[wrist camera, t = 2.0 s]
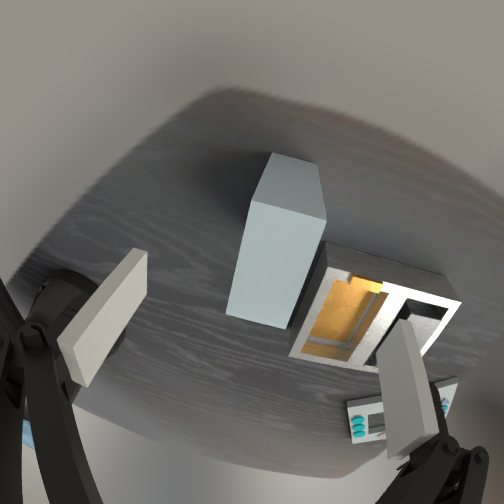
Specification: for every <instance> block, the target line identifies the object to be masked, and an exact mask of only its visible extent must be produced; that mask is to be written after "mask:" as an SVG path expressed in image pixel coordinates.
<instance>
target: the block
mask: <svg viewBox="0 0 504 504" xmlns="http://www.w3.org/2000/svg"><path fill="white" fill-rule="evenodd" d="M326 222H327V218H326V212H325V206H324V201H323V195H322V190H321V184H320V179H319V174H318V169H317V164H314V163H310V162H307V161H303V160H299V159H296V158H292V157H288V156H285V155H281V154H277V153H273V152H272V154H271V156H270V158H269V161H268V163H267V165H266V167H265V170H264V172H263V174H262V177H261V179H260V181H259V184H258V186H257V188H256V191H255V193H254V195H253V198H252V200H251V204H250V208H249V212H248V217H247V221H246V226H245V230H244V234H243V239H242V243H241V247H240V252H239V256H238V261H237V265H236V270H235V274H234V279H233V283H232V288H231V292H230V297H229V301H228V306H227V310H226V314H228V315H231V316H235V317H239V318H242V319H246V320H250V321H254V322H258V323H262V324H266V325H270V326H274V327H278V328H282V329H286V326H287V324H288V321H289V319H290V317H291V314H292V312H293V309H294V307H295V304H296V302H297V299H298V297H299V294H300V292H301V289H302V287H303V284H304V281H305V279H306V276H307V274H308V271H309V268H310V266H311V263H312V260H313V258H314V255H315V252H316V250H317V247H318V244H319V242H320V239H321V236H322V233H323V230H324V228H325V225H326Z"/></svg>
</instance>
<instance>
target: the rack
mask: <svg viewBox="0 0 504 504" xmlns="http://www.w3.org/2000/svg"><path fill="white" fill-rule="evenodd" d="M460 304H461V301H460V300H459V298H458V296H457V294H456V292H455V291H454V289H453V287H452V285H451V284H450V282H449V280H448V278H447V277H444V276H441V275H438V274H435V273H431V272H428V271H425V270H422V269H418V268H415V267H412V266H408V265H405V264H402V263H398V262H395V261H392V260H388V259H385V258H381V257H378V256H375V255H371V254H368V253H364V252H361V251H357V250H354V249H350V248H347V247H343V246H340V245H336V244H333V243H329V242H326V241H325V243H324V246H323V249H322V251H321V254H320V257H319V259H318V262H317V264H316V267H315V269H314V272H313V275H312V277H311V280H310V282H309V285H308V287H307V290H306V292H305V295H304V297H303V299H302V302H301V304H300V307H299V309H298V312H297V314H296V316H295V319H294V321H293V323H292V326H291V329H290V342H289V353H288V356H289V357H294V358H299V359H303V360H308V361H313V362H318V363H323V364H328V365H333V366H339V367H344V368H350V369H356V370H362V371H368V372H374V373H379V371H378V364H377V358H376V352H377V351H378V349H379V348H380V346H381V345H382V344H383V342H384V341H385V339H386V338H387V336H388V335H389V333H390V332H391V330H392V329H393V327H394V326H395V324H396V323H397V321H398V320H399V319H403V320H407V321H411V323H412V326H413V329H414V333H415V336H416V339H417V343H418V346H419V349H420V353H421V356H423V355H424V353H425V352H426V351H427V350H428V348H429V347H430V346H431V344H432V343H433V342H434V340H435V339H436V338H437V336H438V335H439V334H440V332H441V331H442V330H443V328H444V327H445V326H446V324H447V323H448V321H449V320H450V318H451V317H452V316H453V314H454V313H455V311H456V310H457V308H458V307H459V305H460Z"/></svg>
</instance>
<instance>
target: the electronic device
mask: <svg viewBox="0 0 504 504" xmlns="http://www.w3.org/2000/svg"><path fill="white" fill-rule="evenodd" d="M434 384H435V386H436V387H437V389H438V391H439V394H440V398H441V402H442V406H443V408H442V409H443V410H444V415H445V418H446V416H447V413H448V411H449V408H450V405H451V402H452V399H453V397H454V394H455V391H456V388H457V384H458V381H457V378H456V377H455V378H451V379H448V380H444V381H441V382H437V383H434ZM347 409H348V415H349V422H350V428H351V435H352V442H353V444H354V443H361V442H367V441H373V440H379V439H386V430H385V425H384V426H378V427H373V428H368V415H369V414H375V413H380V412H384V410H383V401H382V395H380V396H375V397H370V398H364V399H358V400H351V401H347Z"/></svg>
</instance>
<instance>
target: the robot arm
mask: <svg viewBox="0 0 504 504" xmlns="http://www.w3.org/2000/svg"><path fill="white" fill-rule="evenodd" d="M146 294H147V252H146V251H143V250H140V249H136V248H133V249H132V250H131V251H130V253H129V254H128V255H127V256H126V257H125V258H124V259H123V260H122V261H121V263H120V264H119V265H118V266H117V267H116V268H115V269H114V270H113V272H112V273H111V274H110V275H109V276H108V277H107V278H106V280H105V281H104V282H103V283H102V284H101V285H100V287H98V286H96V285H95V284H94V283H93V282H91V281H90V280H88V279H87V278H85V277H83V276H81V275H79V274H77V273H74V272H71V271H67V270H59V271H55V272H53V273H52V274H51V275H50V276H49V277H48V278H47V279H46V280H45V281H44V282H43V283H42V284H41V286H40V288H39V290H38V293H37V295H36V297H35V299H34V302H33V304H32V307H31V309H30V312H29V314H28V316H27V318H26V319H25V320H24V319H23V317H22V316H21V314H20V312H19V311H18V309H17V307H16V306H15V304H14V302H13V300H12V299H11V297H10V295H9V293H8V291H7V289H6V288H5V286H4V284H3V282H2V280H1V278H0V504H23V497H22V473H21V472H22V469H21V468H22V466H21V465H22V461H21V459H22V457H21V456H22V443H24V444H25V445H27V446H28V447H30V448H32V449H35V452H36V456H37V461H38V465H39V469H40V473H41V476H42V480H43V483H44V487H45V490H46V493H47V496H48V500H49V503H50V504H103V502H102V500H101V497H100V494H99V492H98V489H97V487H96V484H95V481H94V479H93V477H92V473H91V471H90V468H89V465H88V462H87V459H86V456H85V452H84V450H83V446H82V443H81V439H80V436H79V432H78V429H77V425H76V421H75V417H74V413H73V409H72V403H73V401H74V399H75V397H76V395H77V394H78V392H79V390H80V388H81V386H84V387H86V388H88V386H89V384H90V383H91V381H92V379H93V377H94V376H95V374H96V372H97V371H98V369H99V368H100V366H101V364H102V363H103V362H104V361H105V360H107V359H108V358H109V357H110V356H112V355H113V354H114V353H115V352H116V351H117V350H118V348H119V347H120V345H121V343H122V342H123V340H124V337H125V326H126V324H127V323H128V321H129V320H130V318H131V317H132V315H133V314H134V312H135V311H136V309H137V308H138V306H139V305H140V303H141V302H142V300H143V299H144V297H145V296H146ZM376 358H377V364H378V371H379V378H380V385H381V393H382V401H383V410H384V420H385V430H386V442H387V456H388V459H390V460H400V459H403V458H404V457H406V456H407V455H409V456H410V460H409V461H407V462H406V463H404V464H403V465H401V466H400V467H398V468H397V470H400V469H401V468H402V469H401V471H400V472H399V474H398V475H397V476H396V478H395V479H394V480H393V482H392V483H391V484H390V486H389V487H388V488H387V490H386V491H385V492H384V493H383V495H382V496H381V497H380V499H379V500H378V501H377V502H376V503H375V504H481V501H482V496H483V492H484V487H485V482H486V477H487V471H488V465H489V455H488V453H487V451H486V449H484V448H483V447H481V446H477V447H475V448H473V449H472V450H466V449H464V448H460V447H459V444H458V442H457V441H456V440H455V438H453V437H452V436H449V434H448V429H447V424H446V419H445V415H444V410H443V409H442V408H443V406H442V402H441V398H440V394H439V391H438V389H437V387H436V386H435V384H434V382H428V379H427V375H426V371H425V367H424V364H423V360H422V356H421V353H420V349H419V346H418V343H417V339H416V336H415V333H414V329H413V326H412V323H411V321H407V320H403V319H399V320H398V321H397V323H396V324H395V326H394V327H393V329H392V330H391V332H390V333H389V335H388V336H387V338H386V339H385V341H384V342H383V344H382V345H381V346H380V348H379V349H378V351H377V352H376Z"/></svg>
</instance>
